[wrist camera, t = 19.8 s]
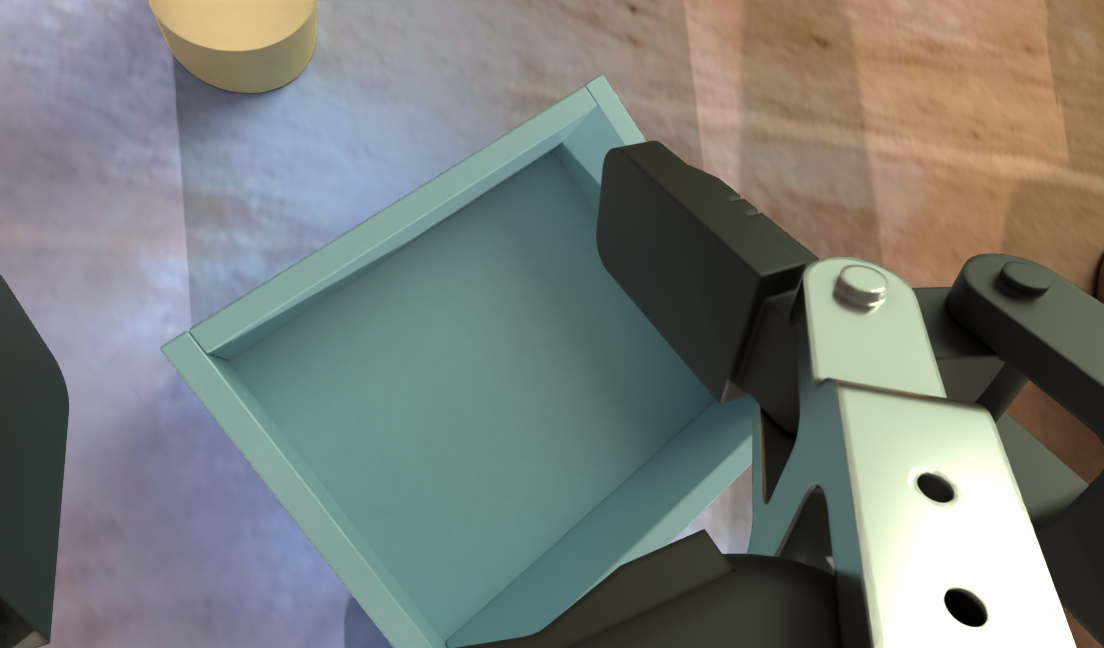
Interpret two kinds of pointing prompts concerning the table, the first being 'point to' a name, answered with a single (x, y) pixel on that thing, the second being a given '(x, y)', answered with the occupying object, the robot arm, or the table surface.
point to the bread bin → (471, 394)
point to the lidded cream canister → (240, 40)
